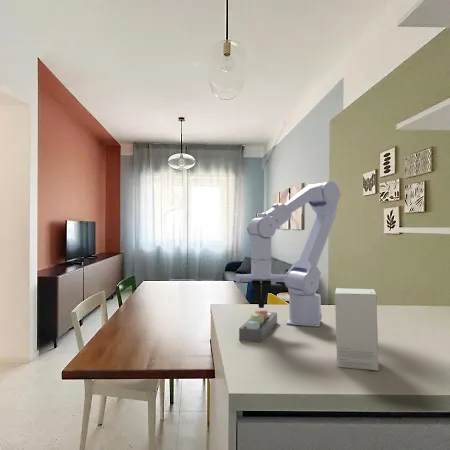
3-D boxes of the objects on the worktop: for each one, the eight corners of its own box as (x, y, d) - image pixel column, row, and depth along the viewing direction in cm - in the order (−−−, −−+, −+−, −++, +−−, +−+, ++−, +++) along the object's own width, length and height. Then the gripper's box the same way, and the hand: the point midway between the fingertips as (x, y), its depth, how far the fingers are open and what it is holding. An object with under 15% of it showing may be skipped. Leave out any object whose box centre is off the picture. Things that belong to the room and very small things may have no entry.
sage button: (265, 324, 98) (265, 314, 98) (262, 328, 95) (262, 317, 95) (252, 323, 99) (252, 313, 99) (249, 327, 96) (249, 316, 96)
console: (277, 322, 108) (277, 312, 108) (262, 342, 89) (262, 330, 89) (257, 320, 110) (257, 310, 110) (239, 340, 91) (239, 328, 91)
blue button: (261, 333, 94) (261, 321, 94) (257, 337, 90) (257, 325, 90) (248, 332, 95) (248, 320, 95) (244, 335, 92) (244, 324, 92)
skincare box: (376, 361, 77) (376, 288, 77) (379, 372, 71) (378, 294, 71) (336, 356, 80) (335, 286, 80) (335, 367, 73) (334, 291, 74)
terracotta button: (268, 320, 103) (268, 310, 103) (266, 323, 100) (266, 312, 100) (256, 319, 104) (256, 309, 104) (253, 322, 101) (253, 312, 101)
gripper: (285, 258, 106) (285, 304, 105) (236, 258, 106) (235, 303, 106) (288, 260, 99) (288, 309, 98) (235, 260, 99) (235, 309, 99)
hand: (261, 307), depth 102 cm, fingers closed
